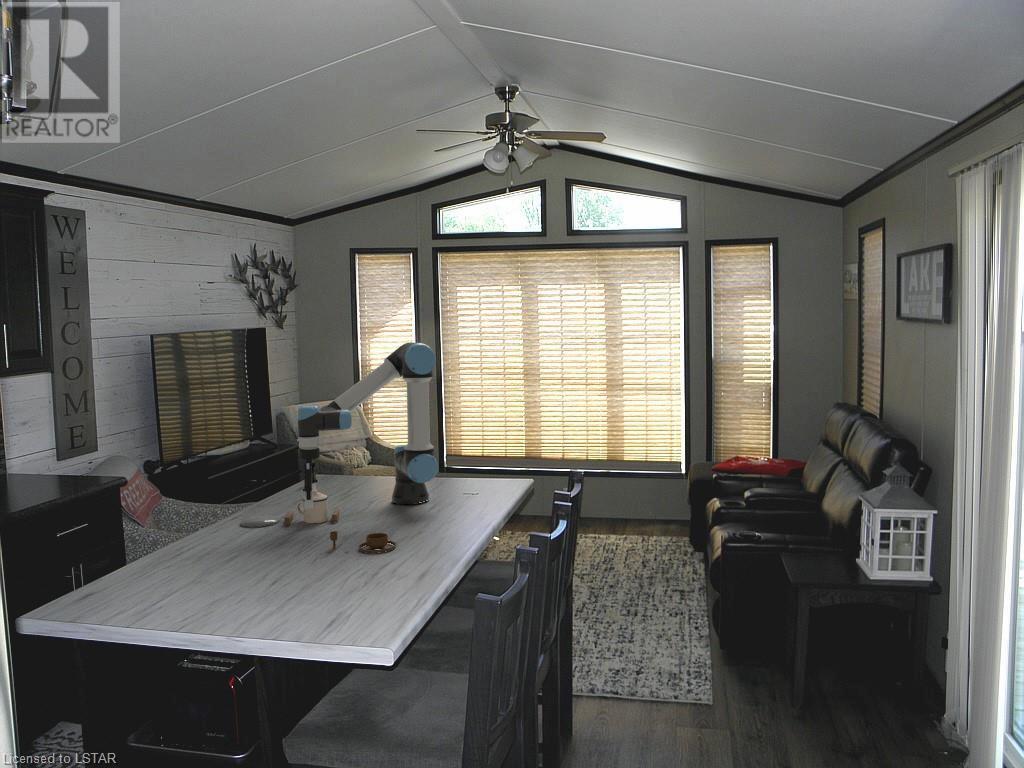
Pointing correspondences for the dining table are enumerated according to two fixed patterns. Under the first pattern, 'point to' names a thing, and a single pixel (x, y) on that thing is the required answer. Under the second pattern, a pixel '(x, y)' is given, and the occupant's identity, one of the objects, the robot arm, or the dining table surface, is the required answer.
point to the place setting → (369, 542)
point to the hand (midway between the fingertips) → (310, 504)
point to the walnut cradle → (289, 516)
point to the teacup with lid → (315, 509)
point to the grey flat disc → (260, 521)
